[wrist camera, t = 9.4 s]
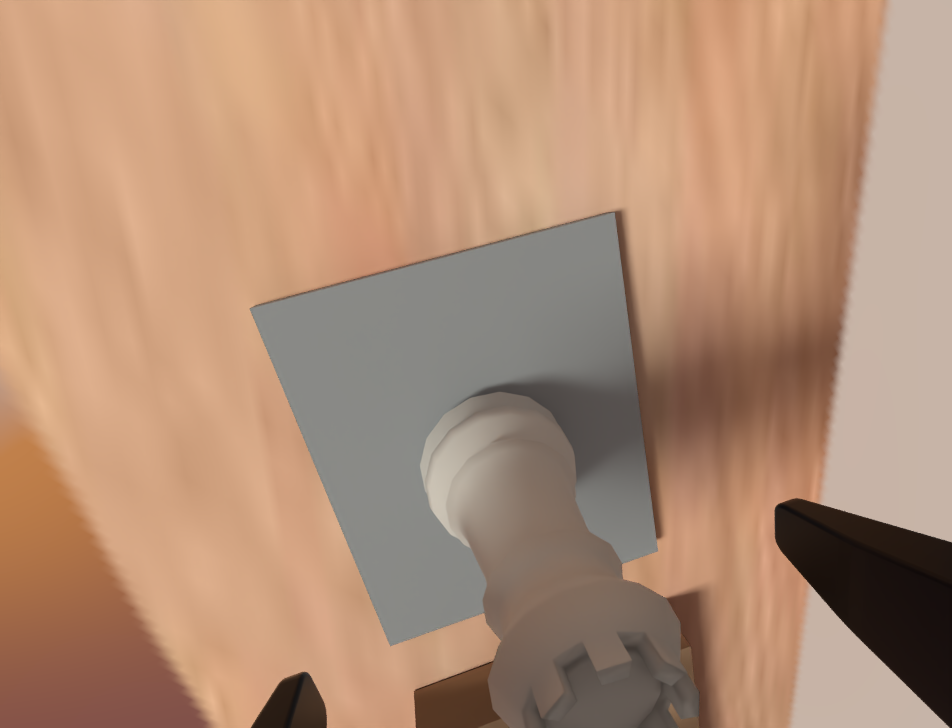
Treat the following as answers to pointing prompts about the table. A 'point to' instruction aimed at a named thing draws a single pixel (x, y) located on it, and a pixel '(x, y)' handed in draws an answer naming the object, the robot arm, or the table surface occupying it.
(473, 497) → the rook chess piece
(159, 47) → the table surface
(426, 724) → the socket block
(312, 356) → the slate mat
